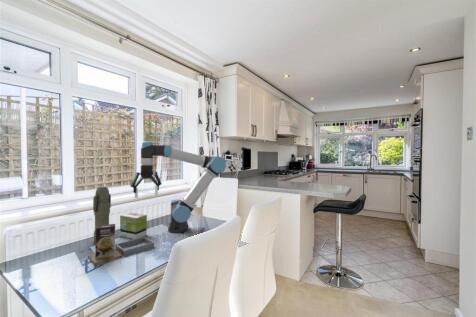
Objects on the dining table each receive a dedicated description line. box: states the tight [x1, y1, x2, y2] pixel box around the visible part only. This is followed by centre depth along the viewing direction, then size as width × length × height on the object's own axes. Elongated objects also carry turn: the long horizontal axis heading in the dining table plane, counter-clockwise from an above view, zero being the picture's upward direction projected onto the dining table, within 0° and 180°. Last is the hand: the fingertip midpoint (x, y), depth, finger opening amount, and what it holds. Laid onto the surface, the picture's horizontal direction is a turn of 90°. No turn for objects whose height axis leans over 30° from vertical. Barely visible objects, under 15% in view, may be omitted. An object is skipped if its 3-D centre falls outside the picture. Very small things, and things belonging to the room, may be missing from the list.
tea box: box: [119, 212, 148, 240], centre depth 155 cm, size 15×10×15 cm, turn 68°
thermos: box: [92, 186, 112, 244], centre depth 145 cm, size 9×12×35 cm
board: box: [87, 250, 123, 267], centre depth 122 cm, size 13×13×1 cm
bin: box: [115, 236, 155, 257], centre depth 134 cm, size 18×14×3 cm
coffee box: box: [94, 223, 116, 259], centre depth 122 cm, size 9×6×16 cm
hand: (146, 196), depth 149 cm, fingers open, 13 cm apart
